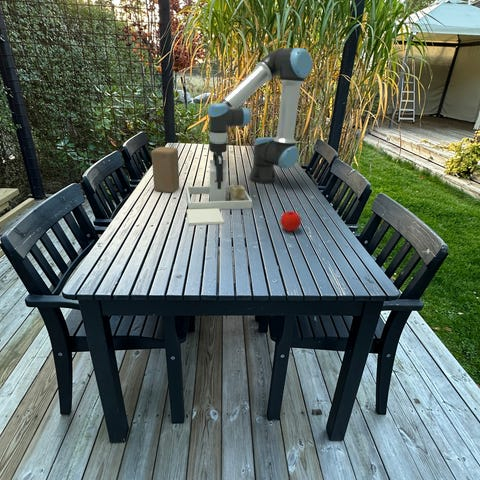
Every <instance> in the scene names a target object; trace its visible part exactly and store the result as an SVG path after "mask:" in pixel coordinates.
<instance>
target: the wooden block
mask: <svg viewBox="0 0 480 480" xmlns="http://www.w3.org/2000/svg"><path fill="white" fill-rule="evenodd" d="M150 153H151V163H152V178H153V189H154V191H155V192H164V193H171V194H172V193H174V192H175V191H176V190H177V189H179V187H180V174H179V173H180V171H179V170H180V169H179V166H180V165H179V150H178V148H176V147H167V146H159V147H156V148H154V149H153V150H151V152H150Z"/></svg>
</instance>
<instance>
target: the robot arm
mask: <svg viewBox="0 0 480 480" xmlns="http://www.w3.org/2000/svg"><path fill="white" fill-rule="evenodd" d="M312 69H313V59H312V56H311V54H310V52H309V51H308V50H307V49H306V48H300V47H294V48H293V47H289V48H287V47H286V48H284V47H281V48H277V49H275V50H273V51H271V52H269V53H268V54H266V55H265V56H264V57H263V58H261V60H259V61H258V62H257V63H256V66H255V68H254V69H253V70H252V71H251V72H250V73H249V74H248V75H247V76H246V77H245V78H243V79H242V80H241V81H240V82H239V83H238V85H236V86H235V87H234V88H233V89H232V90H231V91H230V92H229V93H227V95H226V96H224V97H223V98H222V99H221V100H220V101H219V102H213V103H211V104H210V105H209V106H208V108H207V116H208V118H209V119H208V121H209V133H207V136H208V137H209V141H210V142H209V151H210V152H212V159H213V160H214V161H215V166H216V181H215V182H216V196H221V195H222V182H223V160H224V156H223V153H226V152H227V149H228V146H227V145H228V143H227V142H228V128H229V127H230V128H231V127H232V128H233V127H243V126H247V125H249V123H250V122H251V118H252V117H251V116H252V115H251V112H250V109H249V108H247V107H241V106H242V105H243V103H244V102H246V101H247V100H248V99H249V98H250V97H251V96H252V95H254V93H255V92H256V91H258V90H259V89H260V87H261V86H262V85H263V84H265V83H266V82H269V81H271V80H272V79H274V78H275V77H278V76H279V82H280V83H281V93H280V104H279V111H278V121H277V130H276V136H275V137H274V136H272V137H271V136H268V137H267V136H265V137H257V138H255V139H254V145H253V160H252V167H251V170H250V172H249V176H248V178H249V179H248V180H250V181H251V182H252V183H253V182H254V183H257V184H273V183H274V182H275V183H276V181H277V174H276V169H275V166H277V167H280V168H283V169H290V168H292V167H294V166H295V165H296V163H297V162H298V160H299V157H300V149H299V147H298V146H297V145H296V144H297V140H296V139H295V138H294V137H295V136H294V135H295V130H296V123H297V115H298V106H299V101H300V100H299V99H300V91H301V86H302V84H304V83H305V78H307V77H308V76H309V75H310V73H311V71H312Z"/></svg>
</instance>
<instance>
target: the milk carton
mask: <svg viewBox="0 0 480 480" xmlns="http://www.w3.org/2000/svg"><path fill="white" fill-rule="evenodd" d="M215 181H216V166H215V161H214V160H211V159H210V160H209V186H210V194H209V202H213V201H226V194H227V193H226V186H227V185H226V184H227V160H224V159H223V182H222V195H221V196H216V182H215Z"/></svg>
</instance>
